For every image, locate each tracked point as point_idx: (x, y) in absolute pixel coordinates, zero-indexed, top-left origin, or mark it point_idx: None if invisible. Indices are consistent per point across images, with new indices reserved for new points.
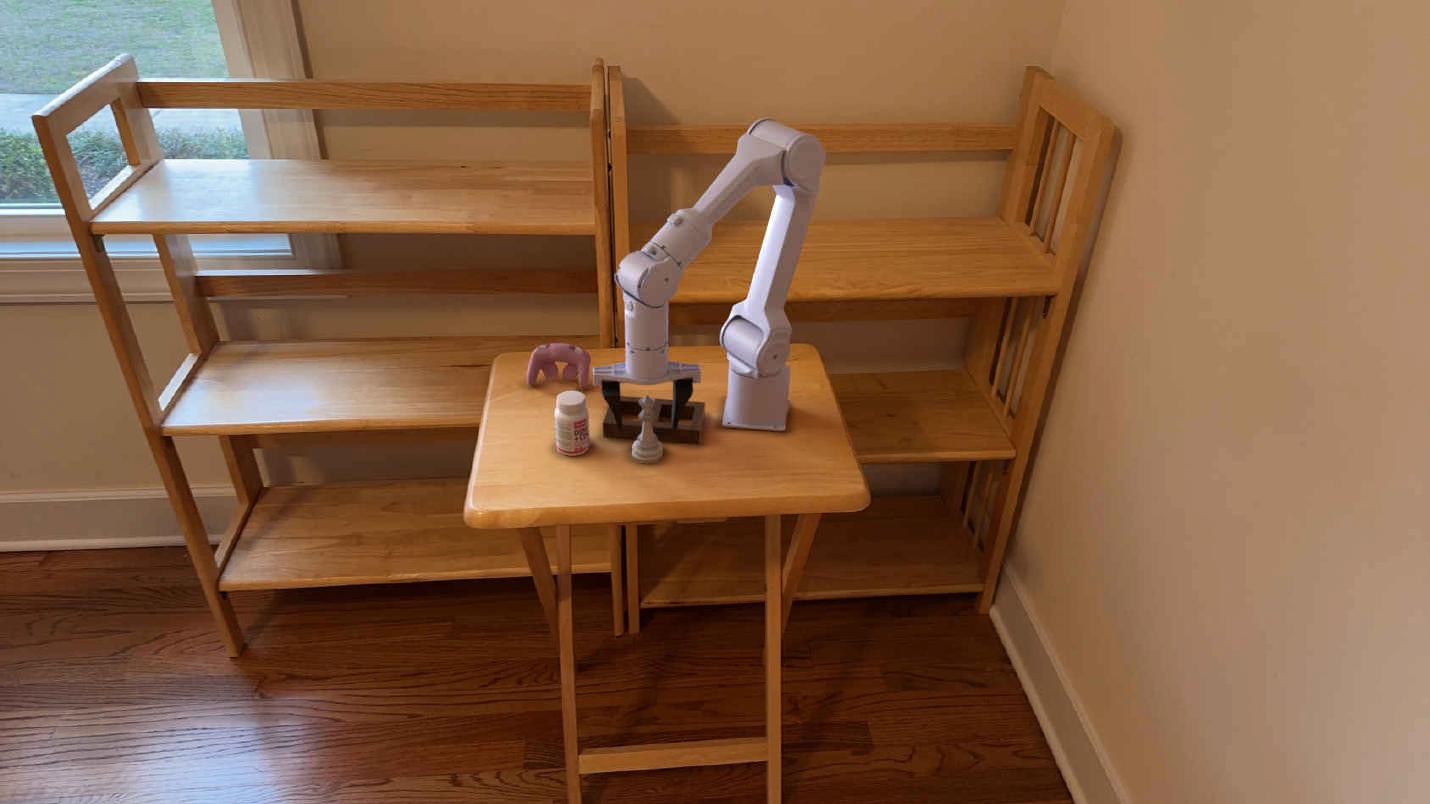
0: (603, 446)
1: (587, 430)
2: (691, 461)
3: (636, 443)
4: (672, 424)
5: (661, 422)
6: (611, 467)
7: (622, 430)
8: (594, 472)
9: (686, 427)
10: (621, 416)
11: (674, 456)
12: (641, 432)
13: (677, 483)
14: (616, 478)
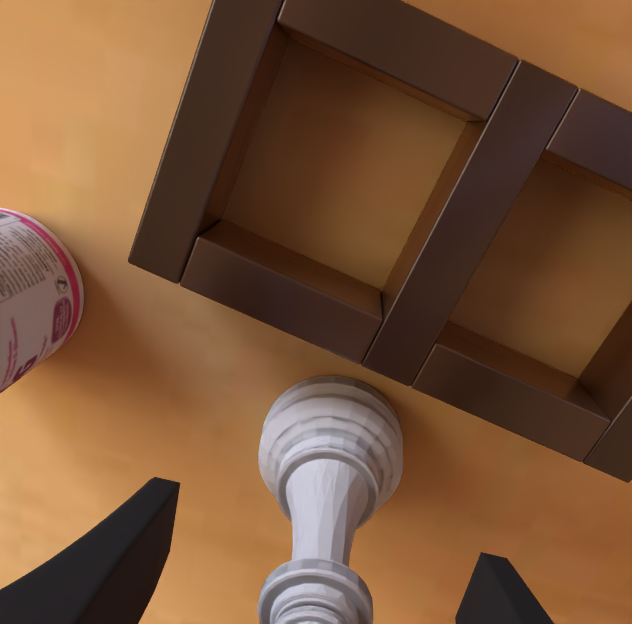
0: (152, 314)
1: (14, 375)
2: (501, 524)
3: (275, 463)
4: (464, 615)
5: (457, 354)
6: (165, 464)
7: (169, 550)
8: (94, 473)
9: (573, 438)
10: (138, 594)
11: (445, 474)
12: (292, 512)
13: (392, 619)
14: (174, 529)
